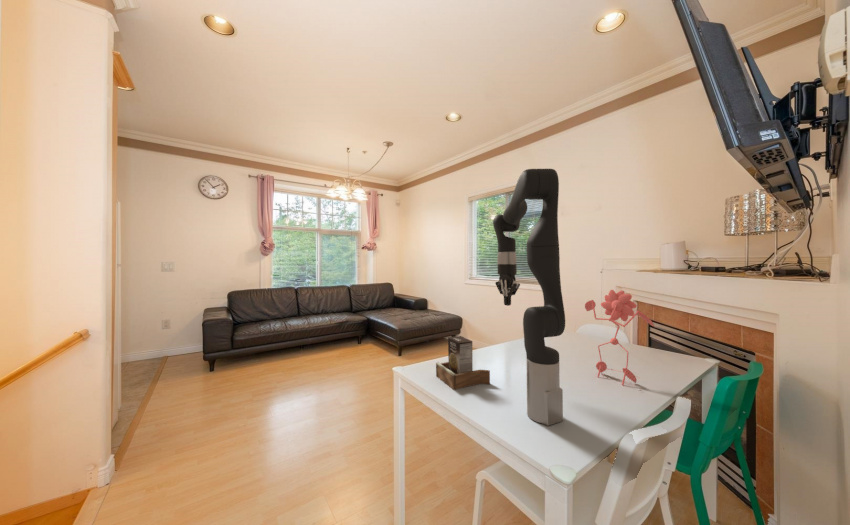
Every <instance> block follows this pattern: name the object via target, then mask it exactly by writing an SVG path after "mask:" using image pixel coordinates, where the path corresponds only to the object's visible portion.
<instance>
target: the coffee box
mask: <svg viewBox="0 0 850 525" xmlns="http://www.w3.org/2000/svg"><path fill="white" fill-rule="evenodd" d="M447 341H448V342H447V343H448V344H447V346H448V347H447V349H448V350H447V351H448V354H447V356H448V362H449V370H450V371H452V372H453V373H455V374H460V373H465V372H470V371H474V370H473V340H470V339H468V338H466V337H464V336H462V335H457V336H449V337H447Z"/></svg>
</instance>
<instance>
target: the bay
mask: <svg viewBox="0 0 850 525" xmlns="http://www.w3.org/2000/svg"><path fill="white" fill-rule="evenodd" d="M435 373H436V374H435V376H436V378H438V379H439V380H440V381H442V382H443V383H445V385H446V386H448V387H449V388H450V389H452V390H458V389H462V388H467V387H472V386H476V385H480V384H482V385H490V384H491V380H490V379H491V377H490V376H491V374H490V373H491V370H489V369H476V370H473V371H470V372H465V373H460V374H455V373H453V372H452V371H450V370H449V361H446V362H441V363H440V362H439V361H438V362H436V363H435Z"/></svg>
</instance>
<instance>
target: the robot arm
mask: <svg viewBox="0 0 850 525" xmlns="http://www.w3.org/2000/svg"><path fill="white" fill-rule="evenodd" d="M518 177H519V178H518V180H517V183H516V184H515V188H514V190H513V193H512V196H511V198H510V201H509V203H508V205H507V206H506V207H505V210H504V211H503V214H497V215H496V216H494V218H493V221H492V225H493V229H494V232H495V235H496V241H497V274H498V275H499V278H498V281H496V282H495V283H494V284H495V286H496V287H497V290H498V292H499V294H500V295H502V296H503V305H504V306H511V305H512V296H515V295H516V294H517V292H518V290H519V288H520V286H521V283H518V282H517V281H516V280H517V279H516V275H517V272H518V271H517V252H516V245H517V244H516V239H515V238H513V237H509V236H506V234H505V233H515V232H517V231H518V230H519V229H520V224H521V220H522V219H523V218H524V217H525V215H526V213H527V211H528V204H527V201H526V200H531V201H532V200H535V201H536V200H542V208H541V209H542V210H541V214H540V217H539V219H538V221H537V222H536V224H535V226H534V227H533V229H532V231H531V232H530V235H529V236H528V238H527V241H526V259H527V262H526V263H527V266H528V269H529V270H530V271H531V273H532V275H533V277H534V278H535V280H536V281H537V282H538V284H539V286H540V288H541V291H542V296H543V297H542V298H543V305H542V306H540V305H539V306H531V307H527V308H526V309H525V310H524V313H523V318H522V319H523V320H522V326H523V329H522V330H523V343H524V349H525V352H526V353H525V355H526V414H527V417H528V418H529V419H531V420H532V421H535V422H537V423H539V424H543V425H545V426H552V425H555V424H557V423H560V422H563V421H564V409H563V408H564V405H563V403H564V400H563V398H564V397H563V393H564V392H563V391H564V390H563V388H561V387H560V353H559V351H558V350H557V349H555V348H553V347H551V346H546V342H545V338H552V337H560V336H561V335H562V334H564V332H565V328H566V312H565V307H564V301H563V300H564V299H563V293H562V292H563V291H562V285H561V284H562V281H561V270H560V269H561V267H560V261H561V260H560V259H561V258H560V241H559V240H560V239H559V223H558V220H559V219H558V218H559V217H558V213H559V210H558V209H559V196H560V195H559V192H560V190H559V189H560V188H559V187H560V182H559V181H560V180H559V176H558V173H557V171H556V170H555V169H554V168H528V169H525V170H523V171H522V172H521V173H520V175H519V176H518Z"/></svg>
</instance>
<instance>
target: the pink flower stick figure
mask: <svg viewBox="0 0 850 525" xmlns="http://www.w3.org/2000/svg"><path fill="white" fill-rule="evenodd" d="M608 291H609V292H608V294H605V295H604V301H602V302H601V303H600V305H601V307H602V308H603V309H605V310H604V315H606V316H610V317H609V318H603V317H602V318H601V317H600V318H599V317H597V314H596V310H595V308H596V302H595V301H594V300H593V299H591V300H588V301H586V302H585V304H584V309H585V310H586V312H589V311H593V315H594V316H593V317H594V319H595V320H597V321H599V320H603V321H609V322H611V323H613V324H614V325H616V326H617V329H616V331H615V334H614V335H615V336H614V337H613V338H611V339H610V341H608V342H606V343H601V344H599V345H597V348H598V353H599V359H600V361H598V362H596V364H595V368H596V369H597V370H598V372H597V378H599V377H600V373H601V374H602V373H603V372H605V371H606V370H611V371H616V372H618V370H616V369H612V368H611V369H610V368H608V366H607V363H606V361H604V360H602V355H601V349H600V346H604V345H608V344H612V345H613V346H617V345H619V346H620V347H621V348H622V349H623V350H624V351H625V352H626V365H625V367H623V368H622V371H620V370H619V372H621V373H623V378H622V383H621V385H622V386H624V385H625V381H626V378H628V379H629V380H631V381H632V382H633V383H635V384H636V383H637V378H638V379H640V377H639V376H636V375H635V374H634V373H633V372H632V371H631V370H629V369H628V367H629V366H628V364H629V363H628V362H629V351H628V350H627V349H626V348H625V347H624V346H623V345H622V344H621V343H619V340H618V339H617V338H616V337H617V336H618V335H617V334H618V333H619V329H620V326H621V327H623V328H625V327H626V326H627V325H628V324H629V323H630V322H631V321H632V320H633V319H634V318H635V317H636V316H637V315H638V316H640V318H641V319H642V320H644V321H645V322H646V323H647V324H649V325H651V326H652V327H655V324H654V323H653V321H652V319H650V318H649V317H648V316H647V315H646V314H644V313H643V312H641V311H639V310H636V312H635V311H634V309H635V308H637V304H636V303H635V302H634V301H632V298H633V296H632V294H630V293H626V292H625V291H624V290H619V291H617V292H616V291H615V290H614V289H610V290H608ZM629 317H630V318H629ZM619 319H621V321H622V322H625V324H622V323H620V322H617V321H618V320H619ZM639 391H640V392H641V391H642V389H639V390H638V392H639Z"/></svg>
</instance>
